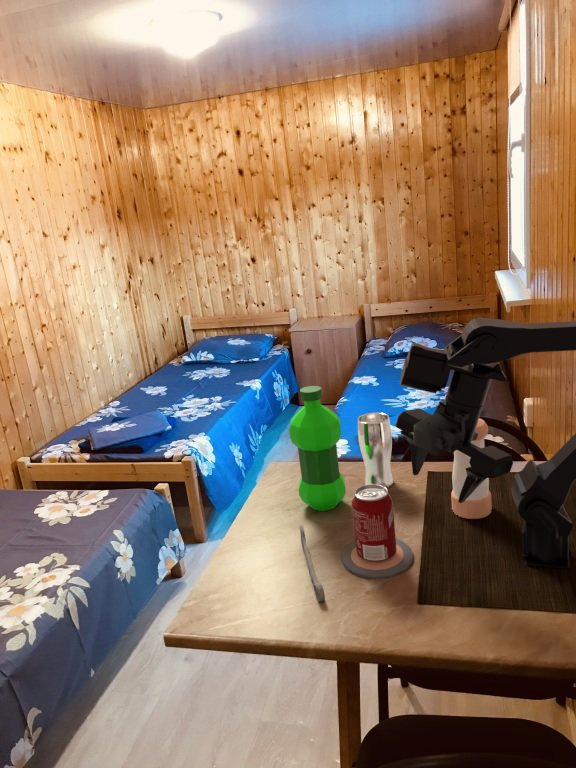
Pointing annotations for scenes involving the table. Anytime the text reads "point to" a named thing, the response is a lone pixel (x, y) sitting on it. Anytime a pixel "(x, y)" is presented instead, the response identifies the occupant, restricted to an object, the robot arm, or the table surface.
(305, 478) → the plastic bottle
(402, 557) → the coaster
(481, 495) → the pepper shaker
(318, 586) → the combination wrench
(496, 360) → the robot arm
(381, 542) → the soda can
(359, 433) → the beer glass
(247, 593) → the table surface
